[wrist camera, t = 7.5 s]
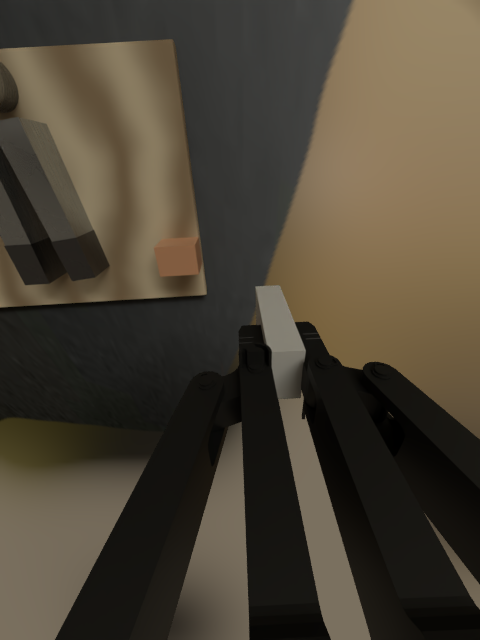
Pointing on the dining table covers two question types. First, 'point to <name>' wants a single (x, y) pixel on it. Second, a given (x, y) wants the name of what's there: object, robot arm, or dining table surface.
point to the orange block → (178, 256)
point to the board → (112, 162)
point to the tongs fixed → (23, 212)
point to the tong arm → (53, 196)
